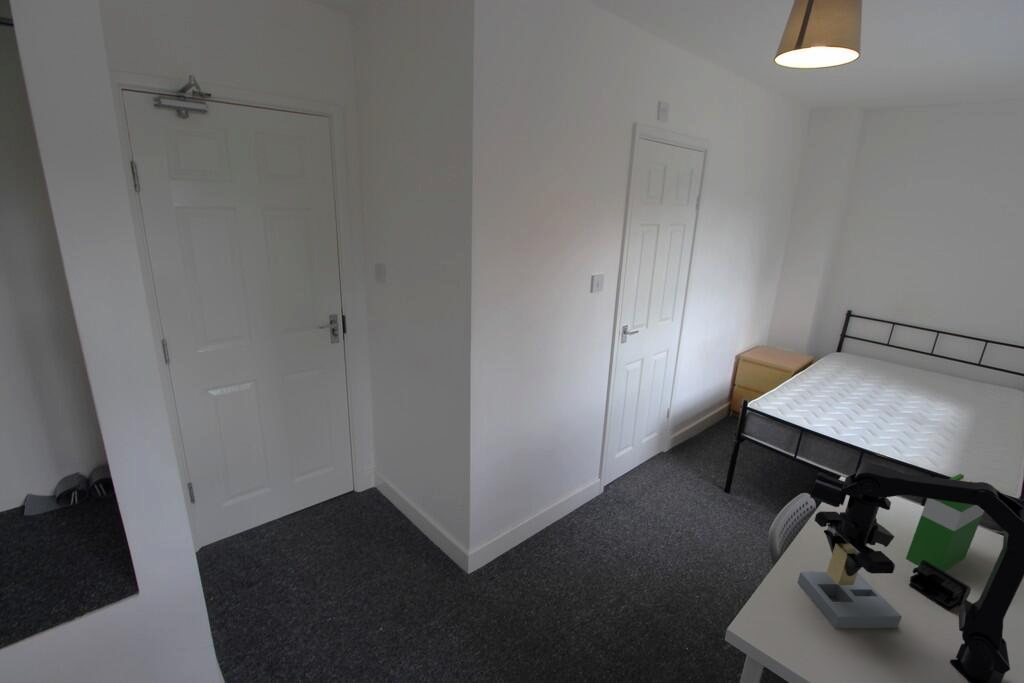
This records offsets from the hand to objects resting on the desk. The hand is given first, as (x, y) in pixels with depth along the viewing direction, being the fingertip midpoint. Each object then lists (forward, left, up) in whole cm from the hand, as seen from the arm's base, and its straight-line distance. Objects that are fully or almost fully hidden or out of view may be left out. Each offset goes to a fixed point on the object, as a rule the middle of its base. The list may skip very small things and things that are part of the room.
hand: (843, 568), depth 116 cm
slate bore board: (0, -3, -11) cm, 11 cm away
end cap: (+3, -31, -11) cm, 33 cm away
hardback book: (+16, -44, -11) cm, 48 cm away
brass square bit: (0, 0, -3) cm, 3 cm away
